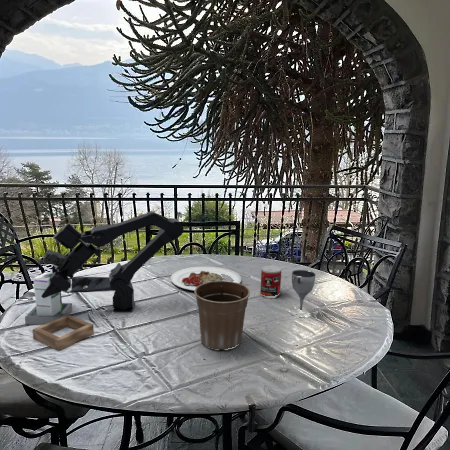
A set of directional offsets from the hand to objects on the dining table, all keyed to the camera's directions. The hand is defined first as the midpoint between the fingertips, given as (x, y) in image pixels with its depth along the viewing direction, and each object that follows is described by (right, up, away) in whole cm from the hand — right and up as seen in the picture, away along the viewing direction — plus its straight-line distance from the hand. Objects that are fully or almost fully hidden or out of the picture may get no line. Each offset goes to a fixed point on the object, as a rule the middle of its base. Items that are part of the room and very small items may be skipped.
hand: (43, 292), depth 126 cm
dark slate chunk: (+9, -3, +31) cm, 33 cm away
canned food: (+77, -6, +26) cm, 81 cm away
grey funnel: (+86, -9, +10) cm, 87 cm away
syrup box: (+1, -9, +2) cm, 9 cm away
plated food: (+51, -2, +40) cm, 65 cm away
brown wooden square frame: (+11, -11, -10) cm, 18 cm away
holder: (+1, -8, +2) cm, 9 cm away
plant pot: (+58, -13, -10) cm, 60 cm away
